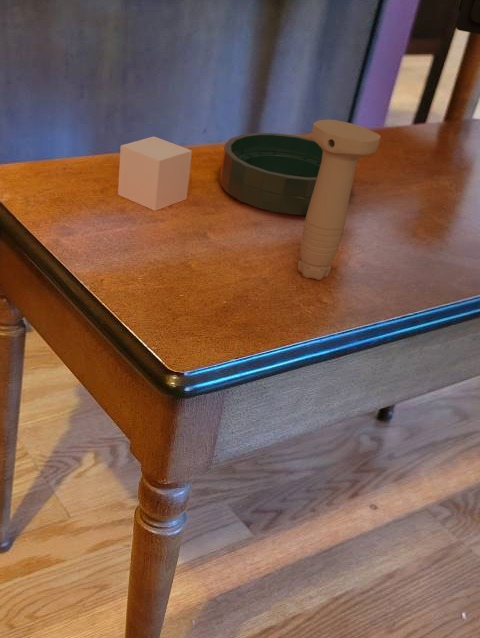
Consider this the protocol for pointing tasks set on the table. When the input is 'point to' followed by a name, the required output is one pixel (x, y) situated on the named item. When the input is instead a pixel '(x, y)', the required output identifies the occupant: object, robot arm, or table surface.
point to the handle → (332, 192)
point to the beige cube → (154, 172)
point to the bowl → (271, 171)
